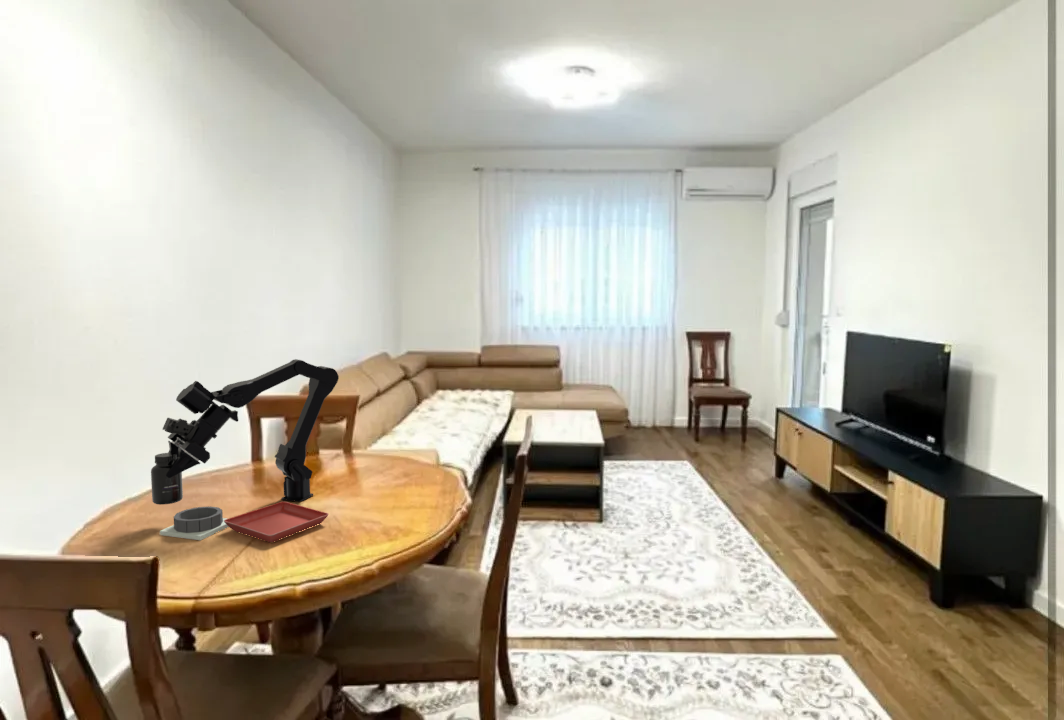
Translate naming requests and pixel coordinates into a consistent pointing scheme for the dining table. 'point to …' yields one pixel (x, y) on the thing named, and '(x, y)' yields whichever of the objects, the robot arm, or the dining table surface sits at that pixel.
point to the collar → (198, 519)
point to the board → (196, 536)
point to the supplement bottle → (165, 480)
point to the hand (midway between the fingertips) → (164, 473)
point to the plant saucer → (276, 521)
